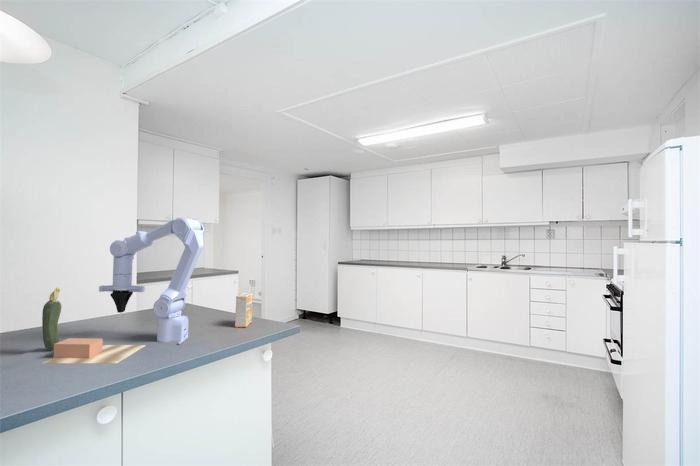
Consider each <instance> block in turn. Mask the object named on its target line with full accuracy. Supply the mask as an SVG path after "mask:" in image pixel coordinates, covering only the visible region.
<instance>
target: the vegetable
mask: <svg viewBox="0 0 700 466" xmlns="http://www.w3.org/2000/svg"><path fill="white" fill-rule="evenodd" d="M60 291H61V288H59V287H56V288H55V289H54V290H53V291H52V292H51V293H50V295H49V299H48V301H47V302H45V304H44V305H43V308H42V313H41V315H42V316H41V317H42V318H41V320H42V322H41V324H42V327H41V328H42V340H43V344H44V348H45V349H46V350H47V351H49V352H54V344H55V343H58V342H60V341H59V332H58V324H59V320H60V317H61V316H60V315H61V312H62V303H61V301H59V300H58V298H59V292H60Z"/></svg>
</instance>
